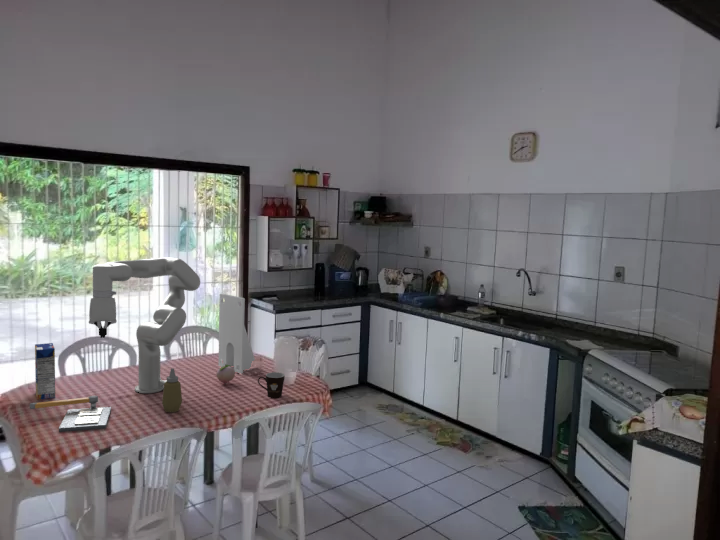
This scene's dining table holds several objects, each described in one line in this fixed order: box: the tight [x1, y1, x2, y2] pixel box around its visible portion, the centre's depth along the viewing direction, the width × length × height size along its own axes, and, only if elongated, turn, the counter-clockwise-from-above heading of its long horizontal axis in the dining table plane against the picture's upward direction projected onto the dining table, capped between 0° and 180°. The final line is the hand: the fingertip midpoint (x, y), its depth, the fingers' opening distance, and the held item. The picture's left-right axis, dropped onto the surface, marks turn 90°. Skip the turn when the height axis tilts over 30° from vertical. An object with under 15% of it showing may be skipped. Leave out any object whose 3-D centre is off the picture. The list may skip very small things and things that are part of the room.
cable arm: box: [29, 395, 99, 410], centre depth 228 cm, size 4×24×2 cm, turn 118°
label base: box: [58, 402, 112, 433], centre depth 223 cm, size 16×23×3 cm
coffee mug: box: [257, 371, 286, 399], centre depth 260 cm, size 12×9×10 cm
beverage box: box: [34, 342, 56, 401], centre depth 247 cm, size 7×11×22 cm, turn 33°
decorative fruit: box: [216, 364, 236, 385], centre depth 274 cm, size 9×8×10 cm
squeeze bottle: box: [161, 368, 183, 413], centre depth 235 cm, size 8×8×18 cm
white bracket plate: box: [217, 292, 256, 374], centre depth 300 cm, size 20×14×40 cm
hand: (102, 337), depth 238 cm, fingers closed
